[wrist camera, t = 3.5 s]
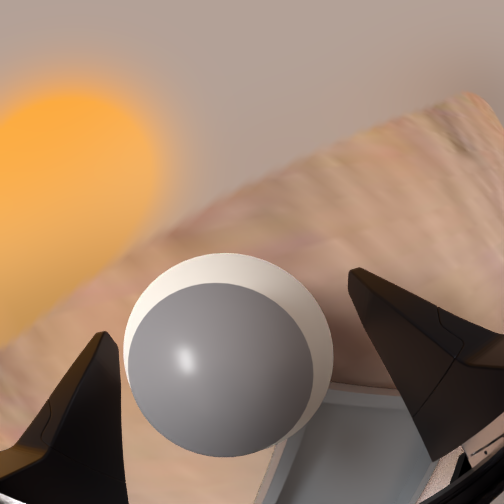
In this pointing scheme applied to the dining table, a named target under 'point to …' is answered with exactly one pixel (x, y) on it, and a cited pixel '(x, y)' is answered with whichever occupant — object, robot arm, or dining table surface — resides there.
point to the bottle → (227, 354)
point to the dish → (351, 453)
